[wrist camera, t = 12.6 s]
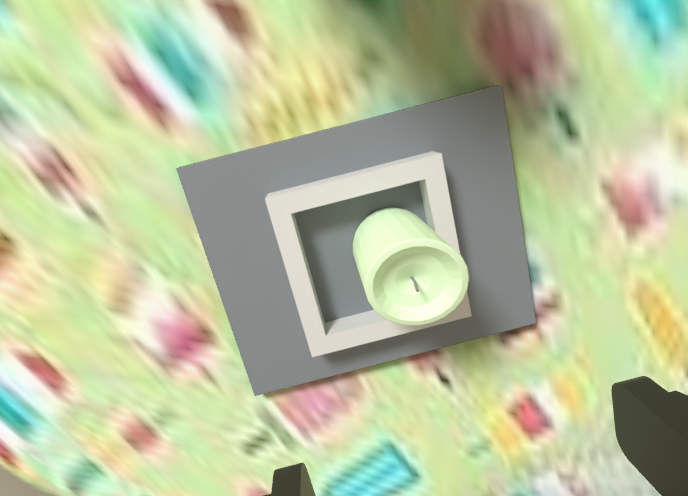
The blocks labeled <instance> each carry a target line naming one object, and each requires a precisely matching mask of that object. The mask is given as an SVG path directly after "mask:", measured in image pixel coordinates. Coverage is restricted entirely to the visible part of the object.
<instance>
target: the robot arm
mask: <svg viewBox="0 0 688 496" xmlns="http://www.w3.org/2000/svg"><path fill="white" fill-rule="evenodd" d="M612 401H613V411H614V421H615V431H616V437H617V440H618V443H619V445H620V447H621V449H622V451H623V453H624V454H625V456H626V457H627V459H628V460H629V461H630V462H631V463H632V464H633V465H634V466H635V468H636V469H637V470H638V471H639V472H640V473H641V474H642V475H643V476H644V477H645V478H646V479H647V480H648V481H649V483H650V484H651V485H652V486H653V487H654V488H655V489H656V490H657V491H658V492H659V493H660V494H661V495H662V496H688V395H685V394H683V393H680V392H678V391H673V392H669V393H668V392H667V391H666V390H665V389H663V388H662V387H661V386H659V385H658V384H657V383H655V382H654V381H653V380H651V379H650V378H648V377H646V376H641V377H637V378H633V379H629V380H626V381H622V382H618V383H614V384H613V386H612ZM264 496H315V493H314V490H313V487H312V484H311V481H310V478H309V475H308V472H307V469H306V466H305V464H304V463H299V464H296V465H292V466H288V467H284V468H280V469H276V470H275V471H274V475H273V484H272V493H271V494H268V495H264Z"/></svg>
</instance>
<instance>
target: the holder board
mask: <svg viewBox="0 0 688 496" xmlns="http://www.w3.org/2000/svg"><path fill="white" fill-rule="evenodd" d="M176 169H177V172H178V175H179V178H180V181H181V184H182V187H183V189H184V192H185V195H186V198H187V201H188V204H189V207H190V210H191V213H192V215H193V218H194V221H195V224H196V227H197V230H198V233H199V236H200V239H201V241H202V244H203V247H204V250H205V253H206V256H207V259H208V262H209V265H210V267H211V270H212V273H213V276H214V279H215V282H216V285H217V288H218V291H219V293H220V296H221V299H222V302H223V305H224V308H225V311H226V314H227V317H228V320H229V322H230V325H231V328H232V331H233V334H234V337H235V340H236V343H237V346H238V348H239V351H240V354H241V357H242V360H243V363H244V366H245V369H246V372H247V374H248V377H249V380H250V383H251V386H252V389H253V392H254V395H255V396H256V395H260V394H264V393H268V392H272V391H276V390H280V389H284V388H287V387H291V386H295V385H299V384H303V383H307V382H311V381H315V380H318V379H322V378H326V377H330V376H334V375H338V374H342V373H345V372H349V371H353V370H357V369H361V368H365V367H369V366H373V365H376V364H380V363H384V362H388V361H392V360H396V359H400V358H404V357H407V356H411V355H415V354H419V353H423V352H427V351H431V350H434V349H438V348H442V347H446V346H450V345H454V344H458V343H462V342H465V341H469V340H473V339H477V338H481V337H485V336H489V335H493V334H496V333H500V332H504V331H508V330H512V329H516V328H520V327H524V326H527V325H531V324H535V323H536V319H535V312H534V305H533V298H532V291H531V284H530V277H529V270H528V263H527V256H526V249H525V242H524V235H523V228H522V221H521V214H520V207H519V200H518V193H517V186H516V179H515V172H514V165H513V158H512V151H511V144H510V137H509V130H508V123H507V117H506V110H505V103H504V96H503V89H502V85H497V86H493V87H489V88H485V89H481V90H477V91H473V92H469V93H465V94H462V95H458V96H454V97H450V98H446V99H442V100H438V101H434V102H430V103H427V104H423V105H419V106H415V107H411V108H407V109H403V110H399V111H396V112H392V113H388V114H384V115H380V116H376V117H372V118H368V119H364V120H361V121H357V122H353V123H349V124H345V125H341V126H337V127H333V128H330V129H326V130H322V131H318V132H314V133H310V134H306V135H302V136H298V137H295V138H291V139H287V140H283V141H279V142H275V143H271V144H267V145H263V146H260V147H256V148H252V149H248V150H244V151H240V152H236V153H232V154H229V155H225V156H221V157H217V158H213V159H209V160H205V161H201V162H197V163H194V164H190V165H186V166H182V167H179V168H176ZM385 208H401V209H405V210H408V211H410V212H412V213H413V214H415V215H416V216H418V217H419V218H420V219H421V220H422V221H423V222H424V223H425V224H427V225H428V226H429V227H430V228H431V229H432V230H433V231H435V232H436V233H437V234H438V235H439V236H440V237H441V238H442V239H444V240H445V241H446V242H447V243H448V244H449V245H450V246H451V247H453V248H454V249H455V250H456V251H457V252H458V253H459V254H460V255H461V256H462V258H463V260H464V261H465V263H466V265H467V267H468V274H469V283H468V289H467V292H466V294H465V296H464V298H463V300H462V301H461V303H460V304H459V305H458V306H457V307H456V308H455V310H453V311H452V312H451V313H449V314H448V315H446V316H445V317H444V318H441V319H439V320H437V321H435V322H432V323H428V324H423V325H402V324H397V323H393V322H391V321H389V320H387V319H385V318H383V317H382V316H381V315H379V314H378V313H377V312H376V311H375V310H374V309H373V307H372V306H371V305H370V303H369V302H368V299H367V296H366V293H365V289H364V286H363V283H362V280H361V277H360V274H359V271H358V268H357V264H356V261H355V258H354V255H353V240H354V236H355V232H356V231H357V229H358V227H359V225H360V224H361V223H362V222H363V221H364V220H365V219H366V217H368V216H369V215H371V214H372V213H374V212H376V211H378V210H381V209H385Z"/></svg>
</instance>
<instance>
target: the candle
mask: <svg viewBox="0 0 688 496" xmlns="http://www.w3.org/2000/svg"><path fill="white" fill-rule="evenodd" d="M353 255H354V258H355V261H356V264H357V268H358V271H359V274H360V277H361V280H362V283H363V286H364V289H365V293H366V296H367V299H368V302H369V303H370V305H371V306H372V307H373V309H374V310H375V311H376V312H377V313H378V314H379V315H381V316H382V317H383V318H385V319H387V320H389V321H391V322H393V323H397V324H402V325H423V324H428V323H432V322H435V321H437V320H439V319H441V318H444V317H445V316H446V315H448V314H449V313H451V312H452V311H453V310H455V308H456V307H457V306H458V305H459V304H460V303H461V301H462V300H463V298H464V296H465V294H466V292H467V289H468V283H469V274H468V267H467V265H466V263H465V261H464V260H463V258H462V256H461V255H460V254H459V253H458V252H457V251H456V250H455V249H454V248H453V247H451V246H450V245H449V244H448V243H447V242H446V241H445V240H444V239H442V238H441V237H440V236H439V235H438V234H437V233H436V232H435V231H433V230H432V229H431V228H430V227H429V226H428V225H427V224H425V223H424V222H423V221H422V220H421V219H420V218H419V217H418V216H416V215H415V214H413V213H412V212H410V211H408V210H405V209H401V208H385V209H381V210H378V211H376V212H374V213H372V214H371V215H369V216H368V217H366V219H365V220H364V221H363V222H362V223H361V224H360V225H359V227H358V229H357V231H356V232H355V236H354V240H353Z"/></svg>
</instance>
